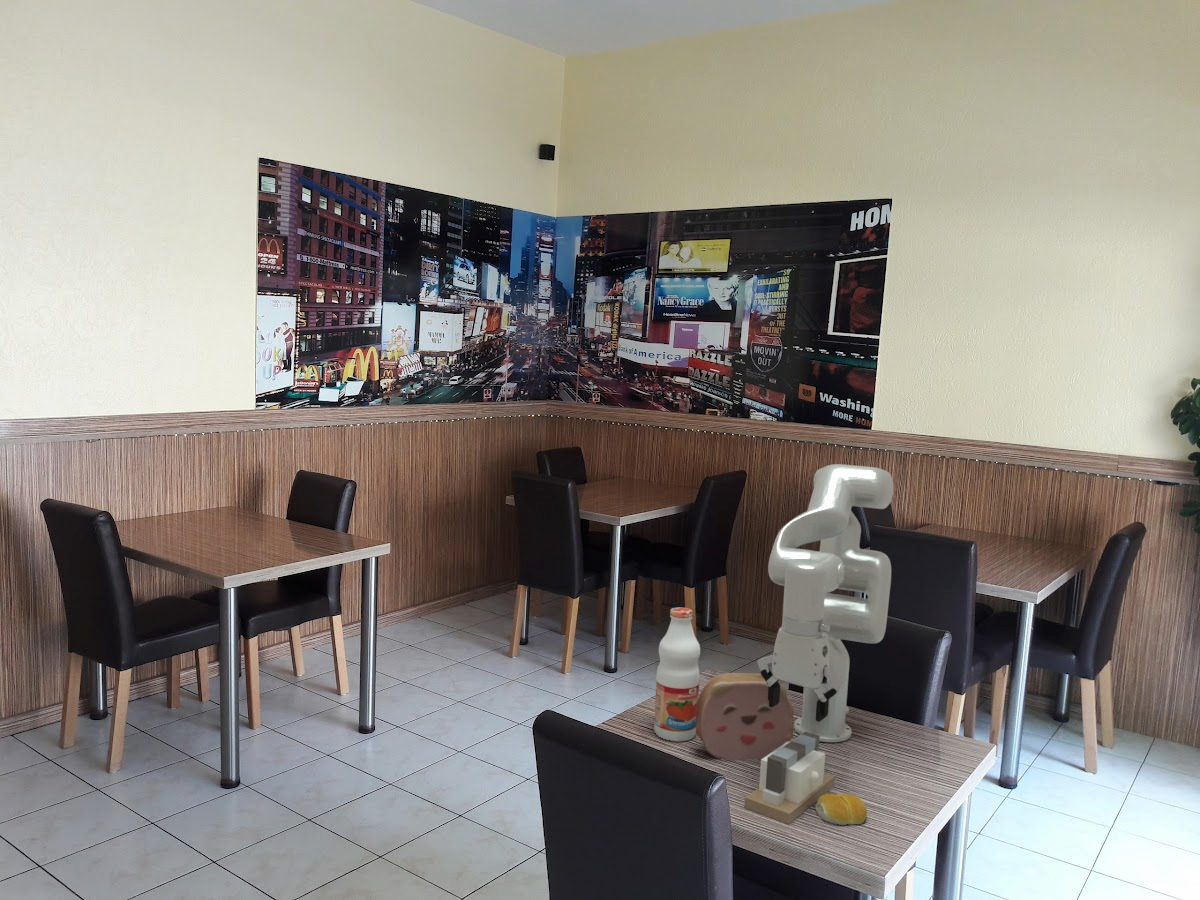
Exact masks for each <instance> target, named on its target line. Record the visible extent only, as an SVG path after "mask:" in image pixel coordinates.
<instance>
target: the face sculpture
mask: <svg viewBox="0 0 1200 900" xmlns="http://www.w3.org/2000/svg"><path fill="white" fill-rule="evenodd" d="M787 693H788V692H787V688H786V686H785V685H784V684H783V683H780V700H779V704H777V705H775V706H774V707H769V700H768V686H767V685H766V681H765V679H764V678H763V676H762V675H761V673H755V672H754V673H751V672H750V673H748V672H745V673H744V672H743V673H740V672H726V673H721V674H719V675H716V676H714V677H713V678H711V679H710V680H709V681H707V683H706V684H705V685H704V686H703V688H702V689H701V691H700V693H699V697H698V703H697V716H696V724H697V725H696V736H697V737H698V738H700V739H699V740H701V741H702V743H703V747H704V748H705V751H706V752H707V753H709V754H710V755H711V756H713V757H715V758H716V759H717V758H718V760H722V759H723V760H726V761H727V760H728V761H731V760H733V761H734V760H736V761H737V760H738V761H741V760H742V761H743V760H744V761H745V760H761V759H763V758H764V757H766V756H767V755H769V754H770V753H771V752H773V751H774V750H776V749H777V748H779V747H780V746H782V745H783V744H785V743H786V742H790V741H791V740H793V737H794V723H795V720H794V708H793V705H792V702H791V700H790V699H789V697H788V694H787ZM723 760H722V761H723Z"/></svg>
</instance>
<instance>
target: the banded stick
mask: <svg viewBox="0 0 1200 900" xmlns="http://www.w3.org/2000/svg"><path fill="white" fill-rule="evenodd" d="M789 742H790V743H788V744H787V745H785V746H784V747H782V748H781V749H779V750H778V751H776V752H775V753H773V754H772V755H771V756H769V757H768V759H767V774H766V789H768V790H771V791H774V792H777V793H779V794H781V793H782V792H783V791H784V784H785V770H787V769H788V768H789V767H791V766H792V765H794V764H795V763H796V762H797V761H799V760H800V759H801V758H803V757H804V756H806V755H807V754H809V753H810V752H811V751H813V750H815V751H819V750H820V749H819V748H820V741H819V736H818V735H815V734H811V733H808V732H804V733H803V734H801V735H800V734H798V736H797V737H795V738H794V739H791V740H790V741H789Z"/></svg>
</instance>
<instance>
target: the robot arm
mask: <svg viewBox="0 0 1200 900" xmlns="http://www.w3.org/2000/svg"><path fill="white" fill-rule="evenodd" d="M894 488H895V487H894V480H893V477H892V475H891V473H890V472H889V471H887V470H884V469H883V468H879V467H873V466H865V465H856V464H855V465H854V464H853V465H851V464H844V463H843V464H841V463H838V464H837V463H836V464H835V463H834V464H833V463H832V464H830V465H829V464H828V465H826V466H823V467H821V468H819V469H817V470H816V471H815V473H814V476H813V491H812V494H811V497H810V500H809V502H808V503H809V504H808V506H807V510H806V511H805V512H802V513H800V514H799V515H797V516H795V517H794V518H793V519H791V520H790V521H788V522H787V523H786V524H785V525H783V526H782V527H781V529H779V532H778V533H777V535H776V537H775V540H774V543H773V546H772V548H771V553H770V555H769V560H768V566H767V568H768V570H767V572H768V576H769V578H770V580H771V581H772V582H773V584H774V583H775V584H776V585H779V586H783V587H784V590H783V604H782V621H781V622H782V623H781V626H780V627H779V629H778V631H777V635H776V639H775V642H774V648H773V654H771V655H768V656H764V657H760V658H759V659H757V660H756V663H757V666H758V668H759V670H760V674H761V675H762V676H763V678H764V679H765V681H766V685H767V686H768V700H769V707H774V706H775V705H777V704H779V700H780V684H781V683H779V681H781V682H785V683H788V684H791V685H796V686H798V687H803V691H802V692H803V693H802V709H801V717H799V718H797V719H795V720H794V723H793V730H794V731H795V732H796V733H797V734H798V735H801V734H803V733H804V732H808V733H811V734H815V735H818V736H819V742H822V743H823V742H824V743H841V742H845V741H847V740H849V739H850V738H851V737H852V733H853V732H852V728H851V726H849V725H848V724H847V723H846V715H847V714H848V713H849V712H850V708H849V706H847V700H848V687H849V672H850V656H849V655H850V654H849V652H848V650H847V648H846V646H845V645H844V643H843V642H842V641H843V640H845V641H852V642H857V643H858V642H859V643H864V644H878V643H880V642H881V641H882V640H883V639H884V636H885V634H886V629H887V621H888V611H889V604H890V603H889V602H890V592H891V585H892V564H891V559H890V558H889V557H888V555H887V554H886V553H884V552H882V551H879V550H873V549H863V548H861V547H860V543H861V534H862V527H861V524H860V522H859V520H858V518H857V517H856V516H855V514H854V513H853V511H852V508H853V507H858V508H860V507H861V508H868V509H878V510H884V509H886V508H888V506H889V505H890V503H891V502H892V500H893V496H894ZM819 541H820V544H819V551H817V550H810V549H804V548H803V549H802V548H798V547H800V546H803V545H806V544H811V543H814V542H819ZM837 589H838V590H844V591H850V592H851V591H852V592H856V593H857V592H859V593H864V594H865V595H867V598H863V597H856V596H849V595H844V594H838V593H837V594H836V593H831V592H833V591H835V590H837ZM768 664H771V669H769V665H768Z"/></svg>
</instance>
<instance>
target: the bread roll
mask: <svg viewBox="0 0 1200 900" xmlns="http://www.w3.org/2000/svg"><path fill="white" fill-rule="evenodd" d="M815 803H816V805H815V811H816V813H817V814H818V816H819V817H820V818H821V819H822V820H823V821H825V822H827V823H830V824H833V825H837V824H839V825H838V826H840V825H841V826H846V825H847V824H848V825H852V826H853V824H854V826H855V824H857V825H860V824H863V823H864V822H865V820H866V818H867V817H868V811H867V807H866V804H865V803H864V801H863V800H862V799H861V798H859V796H856V795H854V794H849V793H838V794H834V793H825V794H823V795H822V796H820V797H819V798H818V800H817V801H816V802H815ZM848 825H847V826H848Z"/></svg>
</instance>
